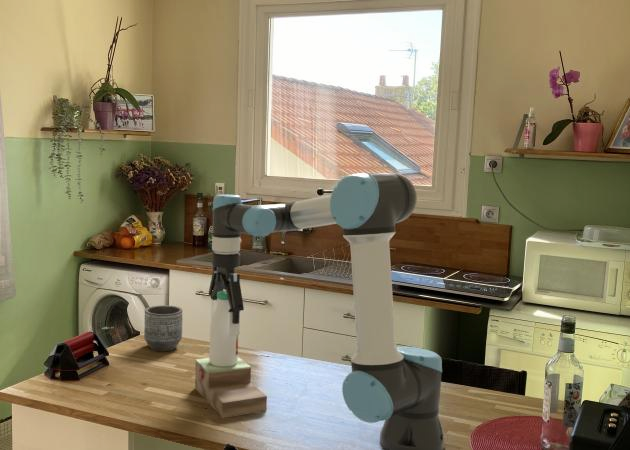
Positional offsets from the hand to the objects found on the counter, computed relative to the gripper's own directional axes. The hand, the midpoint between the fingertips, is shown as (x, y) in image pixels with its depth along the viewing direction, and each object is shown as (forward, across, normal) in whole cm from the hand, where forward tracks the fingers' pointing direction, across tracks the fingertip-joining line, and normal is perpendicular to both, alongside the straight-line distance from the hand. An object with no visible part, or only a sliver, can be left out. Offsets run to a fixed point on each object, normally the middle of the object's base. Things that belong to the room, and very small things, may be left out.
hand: (224, 328), depth 193 cm
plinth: (+18, -5, 0) cm, 19 cm away
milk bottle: (+10, 0, 0) cm, 10 cm away
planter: (+18, +45, +4) cm, 49 cm away
